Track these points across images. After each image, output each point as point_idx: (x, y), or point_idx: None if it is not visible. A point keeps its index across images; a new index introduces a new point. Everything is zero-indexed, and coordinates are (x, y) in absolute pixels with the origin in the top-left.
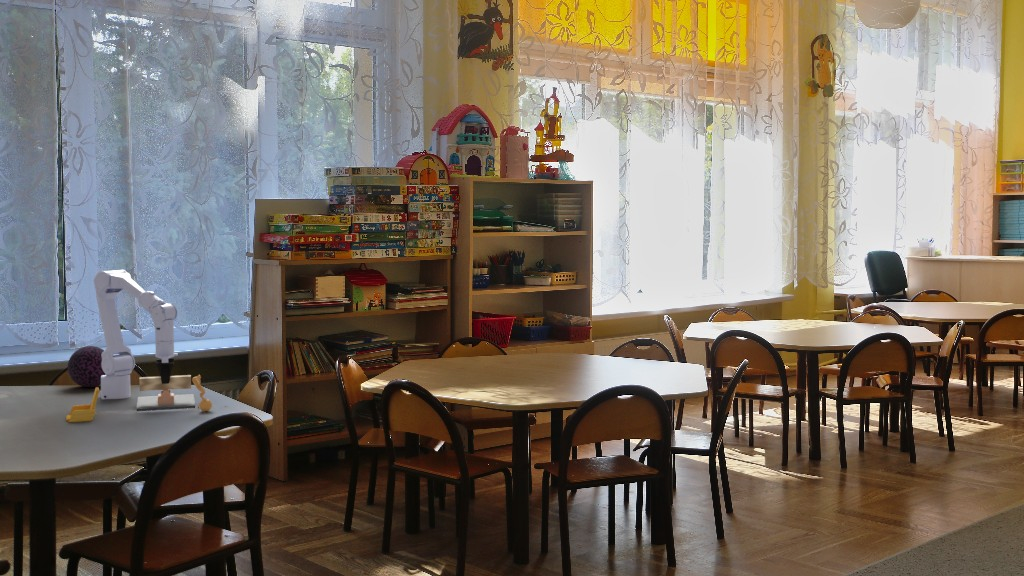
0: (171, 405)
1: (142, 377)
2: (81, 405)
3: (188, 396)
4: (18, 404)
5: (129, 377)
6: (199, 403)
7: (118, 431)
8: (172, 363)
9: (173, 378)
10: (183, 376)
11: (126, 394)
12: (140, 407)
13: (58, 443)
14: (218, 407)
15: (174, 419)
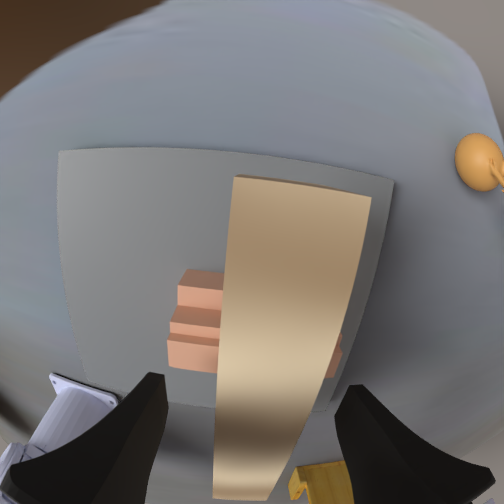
0: (362, 298)
1: (221, 494)
2: (300, 494)
3: (115, 179)
4: None
5: (57, 447)
6: (485, 190)
7: (492, 387)
8: (492, 483)
9: (318, 380)
10: (326, 294)
11: (99, 416)
12: (329, 401)
13: (479, 431)
14: (404, 79)
15: (498, 288)
